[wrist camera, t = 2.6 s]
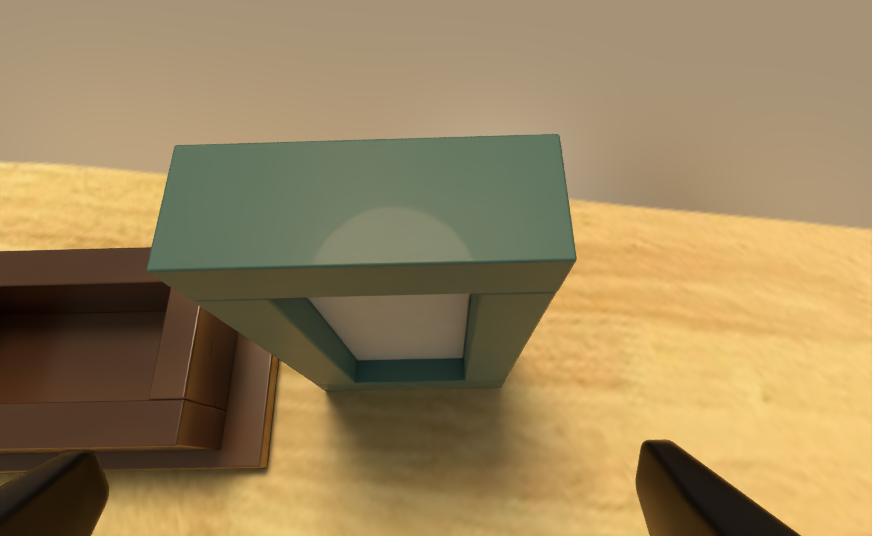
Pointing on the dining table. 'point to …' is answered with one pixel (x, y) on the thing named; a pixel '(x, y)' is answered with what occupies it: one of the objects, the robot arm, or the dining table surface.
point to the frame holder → (123, 368)
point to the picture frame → (372, 252)
